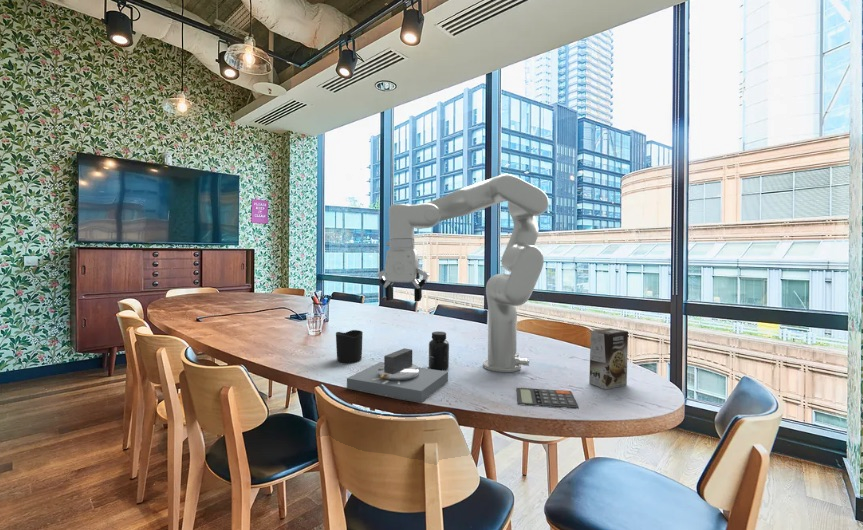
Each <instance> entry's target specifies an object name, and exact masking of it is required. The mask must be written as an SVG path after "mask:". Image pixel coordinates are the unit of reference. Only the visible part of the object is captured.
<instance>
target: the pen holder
mask: <svg viewBox="0 0 863 530" xmlns="http://www.w3.org/2000/svg"><path fill="white" fill-rule="evenodd" d="M335 343H336V344H335V347H336V348H335V349H336V361H337V362H339V363H342V364H354V363H359V362H360V361H361V360H362V357H363V331H362V330H358V329H352V330H349V331H347V332H341V331H337V332H335Z"/></svg>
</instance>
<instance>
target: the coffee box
mask: <svg viewBox="0 0 863 530" xmlns="http://www.w3.org/2000/svg"><path fill="white" fill-rule="evenodd" d="M589 344H590V347H589V381H588V383H589V384H590V385H594V386H596V387H599V388H601V389H604V390H610V389H615V388H619V387H623V386H627V385H628V384H627V383H628V349H629V345H628V344H629V331H627V330H623V329H618V328H616V329H615V328H610V327H609V328H600V329H593V330H590V343H589Z"/></svg>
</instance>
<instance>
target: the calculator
mask: <svg viewBox="0 0 863 530" xmlns="http://www.w3.org/2000/svg"><path fill="white" fill-rule="evenodd" d="M516 397H517V405H519V404H525V405H524V406H531V405H539V406H538V407H546V406H555V407H554V408H561V407H567V408H566V409H576V408H578V409H579V408H580V406H579V404H578V402H577V400H576V397H575V396H574V394H573V392H572V390H564V389H563V390H562V389H561V390H559V389H549V388H547V389H546V388H545V389H543V388H530V387H516Z"/></svg>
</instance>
